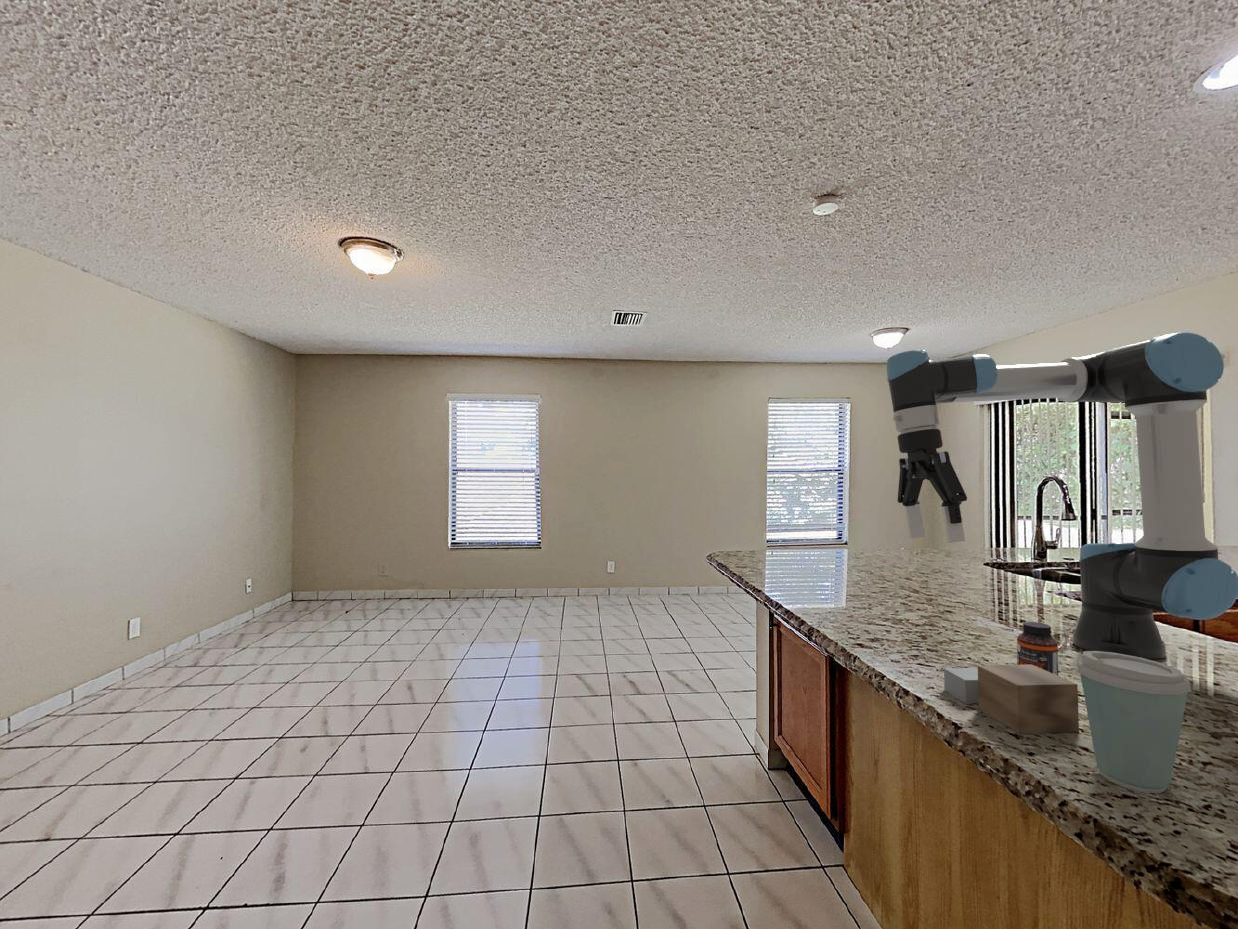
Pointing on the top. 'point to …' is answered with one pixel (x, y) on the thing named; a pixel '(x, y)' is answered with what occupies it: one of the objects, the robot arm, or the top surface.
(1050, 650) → the supplement bottle
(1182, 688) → the disposable coffee cup
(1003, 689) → the walnut block
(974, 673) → the grey block
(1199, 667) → the top surface
